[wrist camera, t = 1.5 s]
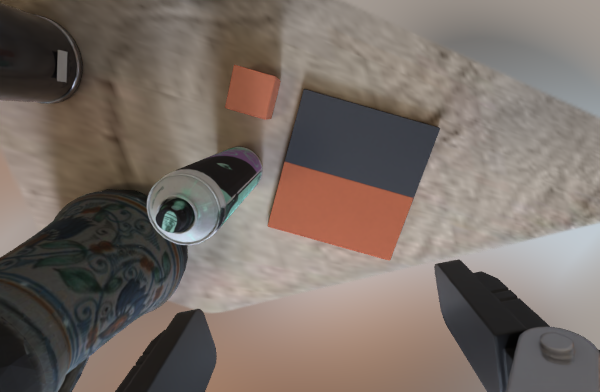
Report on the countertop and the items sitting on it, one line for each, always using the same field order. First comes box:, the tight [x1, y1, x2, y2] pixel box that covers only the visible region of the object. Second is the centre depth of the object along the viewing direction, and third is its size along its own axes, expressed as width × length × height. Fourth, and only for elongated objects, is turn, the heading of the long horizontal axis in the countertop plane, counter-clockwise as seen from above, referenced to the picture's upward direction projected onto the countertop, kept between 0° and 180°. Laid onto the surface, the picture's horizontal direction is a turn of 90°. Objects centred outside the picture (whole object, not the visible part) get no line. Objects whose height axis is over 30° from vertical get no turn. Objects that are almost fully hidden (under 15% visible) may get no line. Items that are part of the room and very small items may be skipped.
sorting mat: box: [268, 89, 440, 261], centre depth 39 cm, size 16×17×1 cm
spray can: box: [147, 147, 262, 245], centre depth 30 cm, size 6×6×20 cm
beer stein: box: [0, 189, 188, 392], centre depth 32 cm, size 16×19×25 cm
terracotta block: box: [225, 65, 281, 119], centre depth 36 cm, size 4×4×4 cm
